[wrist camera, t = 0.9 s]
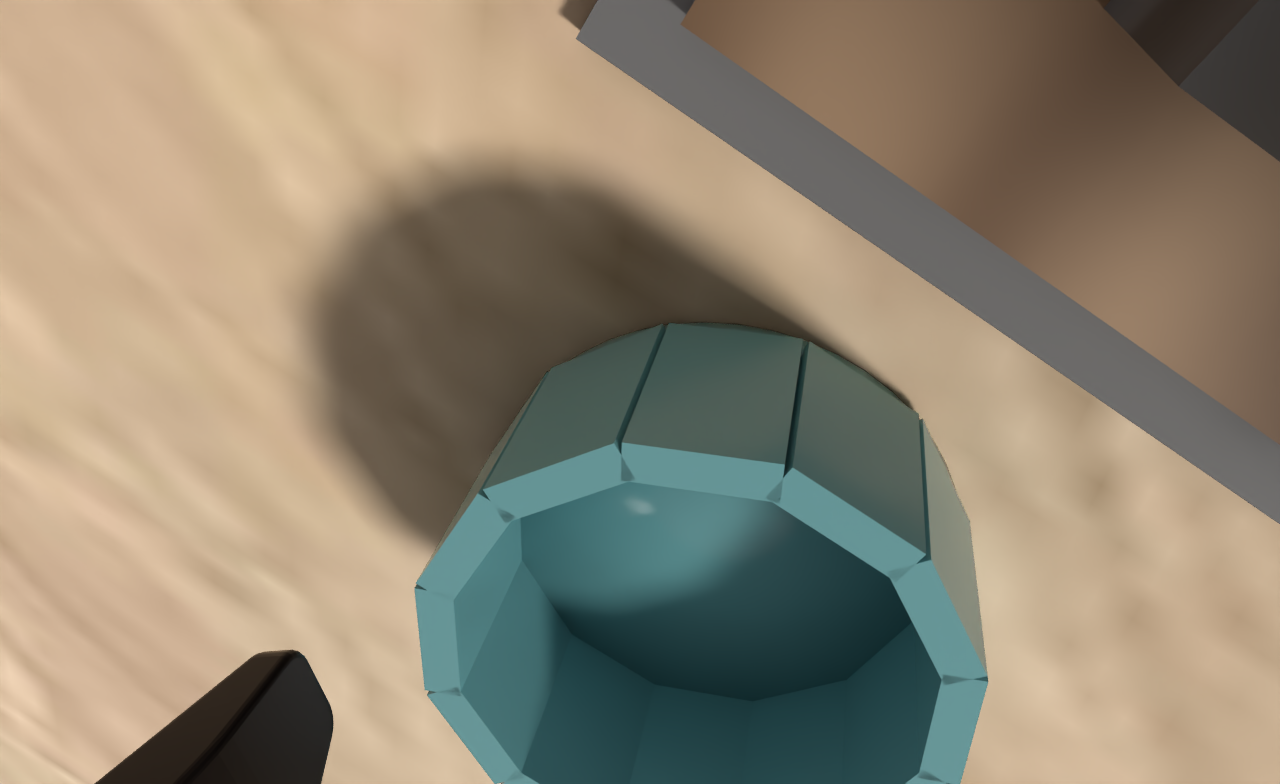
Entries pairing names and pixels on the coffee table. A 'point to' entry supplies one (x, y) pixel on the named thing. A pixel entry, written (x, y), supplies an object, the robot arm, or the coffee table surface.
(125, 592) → the coffee table surface
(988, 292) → the mat
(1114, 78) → the lid
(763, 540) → the teal bowl
